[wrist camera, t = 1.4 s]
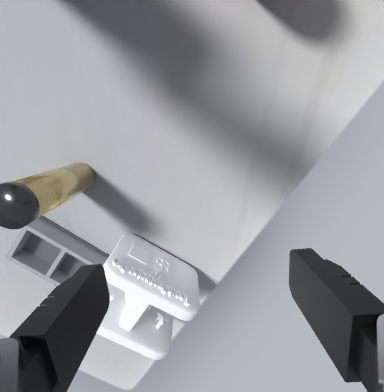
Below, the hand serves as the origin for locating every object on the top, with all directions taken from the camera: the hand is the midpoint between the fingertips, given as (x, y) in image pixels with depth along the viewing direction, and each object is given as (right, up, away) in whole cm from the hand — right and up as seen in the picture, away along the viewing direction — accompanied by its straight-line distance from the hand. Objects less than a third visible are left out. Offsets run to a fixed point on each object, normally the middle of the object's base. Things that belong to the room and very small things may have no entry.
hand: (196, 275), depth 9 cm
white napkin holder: (-8, -10, +31) cm, 34 cm away
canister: (-18, +7, +26) cm, 32 cm away
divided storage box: (-23, -7, +30) cm, 38 cm away
